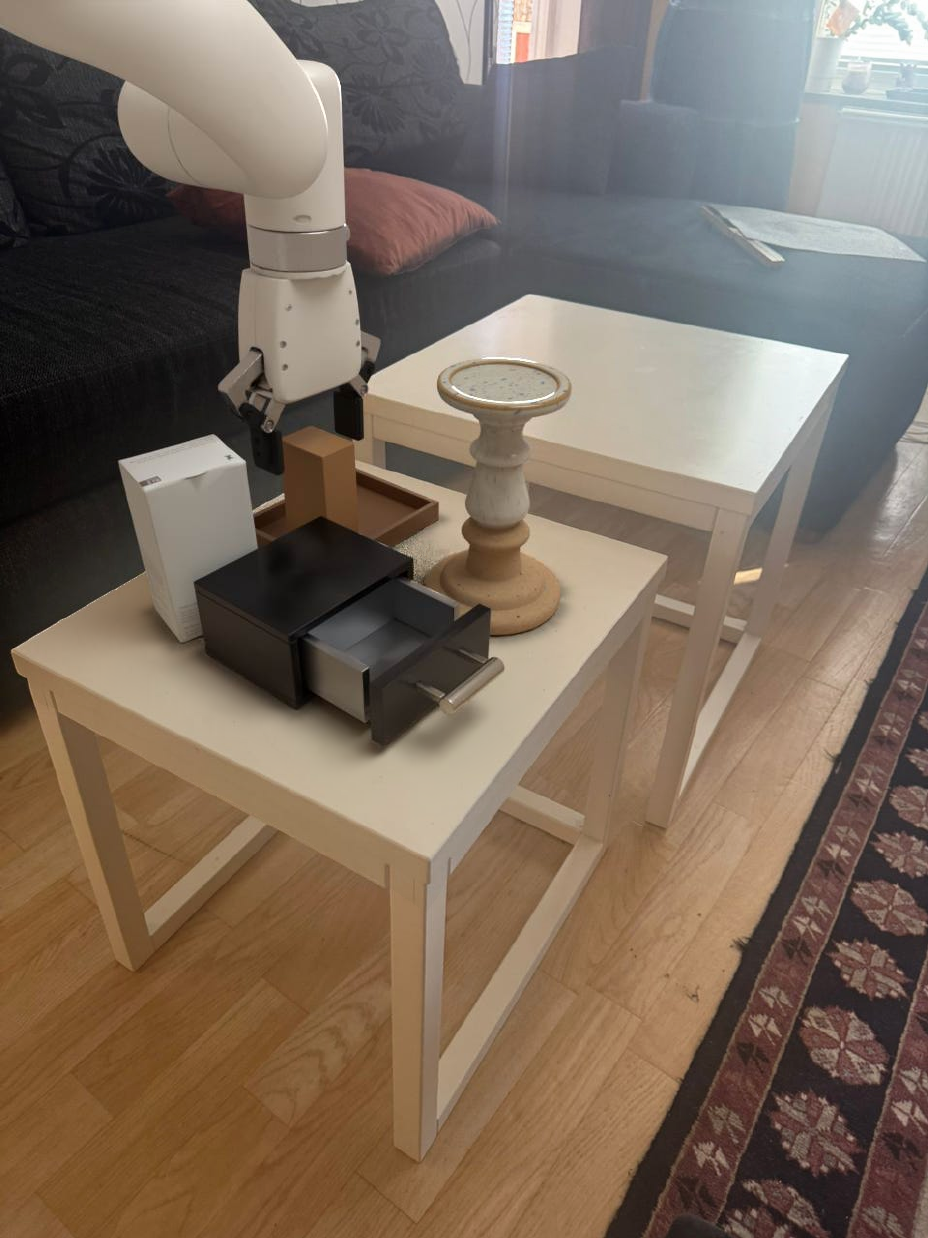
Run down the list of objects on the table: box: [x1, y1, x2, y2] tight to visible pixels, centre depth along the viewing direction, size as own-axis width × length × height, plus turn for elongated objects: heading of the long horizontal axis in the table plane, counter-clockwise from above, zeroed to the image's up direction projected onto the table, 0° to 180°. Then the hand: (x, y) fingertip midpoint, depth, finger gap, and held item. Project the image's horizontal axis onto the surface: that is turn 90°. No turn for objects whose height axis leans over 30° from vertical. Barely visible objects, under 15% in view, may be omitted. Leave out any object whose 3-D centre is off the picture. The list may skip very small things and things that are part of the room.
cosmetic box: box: [117, 433, 258, 644], centre depth 71 cm, size 8×6×15 cm
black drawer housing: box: [194, 516, 415, 711], centre depth 70 cm, size 11×14×7 cm
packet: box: [281, 425, 359, 533], centre depth 80 cm, size 4×6×11 cm
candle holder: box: [423, 357, 573, 636], centre depth 73 cm, size 12×12×20 cm
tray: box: [253, 467, 440, 548], centre depth 86 cm, size 16×12×2 cm
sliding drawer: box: [297, 575, 505, 748], centre depth 65 cm, size 13×12×5 cm
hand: (311, 452), depth 77 cm, fingers open, 9 cm apart
